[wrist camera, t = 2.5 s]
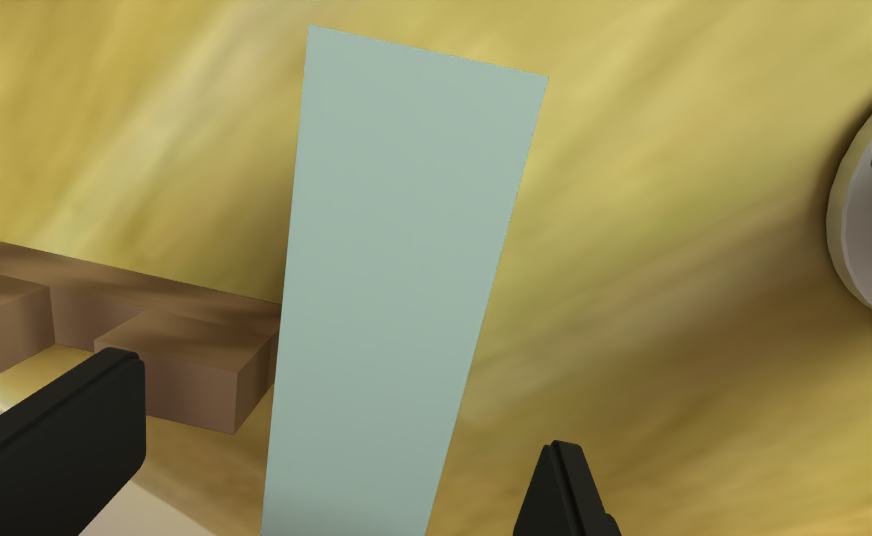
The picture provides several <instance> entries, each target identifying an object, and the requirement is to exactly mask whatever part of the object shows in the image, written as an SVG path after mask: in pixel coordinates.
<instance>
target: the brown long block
mask: <svg viewBox="0 0 872 536" xmlns="http://www.w3.org/2000/svg"><path fill="white" fill-rule="evenodd" d="M281 312H282V305H279V304H275V303H270V302H266V301H261V300H257V299H252V298H248V297H244V296H239V295H235V294H230V293H226V292H221V291H217V290H212V289H208V288H204V287H199V286H195V285H190V284H186V283H181V282H177V281H173V280H168V279H164V278H159V277H155V276H150V275H146V274H142V273H137V272H133V271H128V270H124V269H119V268H115V267H110V266H106V265H102V264H97V263H93V262H88V261H84V260H79V259H75V258H71V257H66V256H62V255H57V254H53V253H48V252H44V251H40V250H35V249H31V248H26V247H22V246H17V245H13V244H8V243H4V242H0V373H1V372H3V371H5V370H7V369H9V368H11V367H13V366H14V365H16V364H18V363H20V362H22V361H24V360H26V359H27V358H29V357H31V356H33V355H35V354H37V353H38V352H40V351H42V350H44V349H46V348H48V347H50V346H51V345H53V344H55V343H56V344H61V345H65V346H69V347H74V348H78V349H82V350H87V351H91V352H95V354H96V353H98V352H99V351H101V350H102V349H105V348H107V347H113V348H118V349H123V350H128V351H133V352H136V353H137V354H138V355H139V359H140V360H142V361H143V362H144V364H145V404H146V415H148V416H153V417H157V418H162V419H166V420H170V421H175V422H179V423H183V424H188V425H192V426H196V427H201V428H205V429H210V430H214V431H218V432H223V433H227V434H231V435H234V434H235V433H236V432H237V430H238V429H239V428H240V426H241V425H242V424H243V422H244V421H245V420H246V418H247V417H248V416H249V414H250V413H251V412H252V410H253V409H254V408H255V406H256V405H257V404H258V402H259V401H260V400H261V398H262V397H263V396H264V395H265V393H266V392H267V391H268V389H269V388H270V387H271V385H272V384H273V383H274V381H275V376H276V365H277V355H278V344H279V333H280V323H281Z"/></svg>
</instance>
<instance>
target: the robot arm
mask: <svg viewBox="0 0 872 536" xmlns="http://www.w3.org/2000/svg"><path fill="white" fill-rule="evenodd" d="M826 229H827V245H828V249H829V252H830V255H831V258H832V262H833V265H834V268H835V270H836V272H837V273H838V275H839V276H840V278H841V280H842V281H843V283H844V284H845V286H846V288H847V289H848V290H849V291H850V292H851V293H852V294H853V295H854V296H855V297H856V298H857V299H858V300H859V301H861V302H862V303H863V304H864V305H865V306H867V307H869V308H870V309H872V115H871V116H870V117H869V119H868V120H867V121H866V123H865V124H864V125H863V126H862V128H861V129H860V130H859V131H858V133H857V134H856V136H855V138H854V140H853V142H852V143H851V145H850V147H849V149H848V150H847V152H846V154H845V156H844V158H843V159H842V161H841V163H840V166H839V169H838V171H837V174H836V177H835V180H834V183H833V185H832V188H831V191H830V197H829V203H828V209H827V216H826ZM145 456H146V404H145V364H144V362H143V361H142V360H140V359H139V355H138V354H137V353H136V352H133V351H128V350H123V349H118V348H113V347H107V348H105V349H102V350H101V351H99V352H98V353H96V354H95V355H93V356H91V357H90V358H88V359H87V360H85V361H84V362H82V363H81V364H79V365H77V366H76V367H74V368H73V369H71V370H70V371H68V372H66V373H65V374H63V375H62V376H60V377H59V378H57V379H56V380H54V381H52V382H51V383H49V384H48V385H46V386H45V387H43V388H41V389H40V390H38V391H37V392H35V393H34V394H32V395H31V396H29V397H27V398H26V399H24V400H23V401H21V402H20V403H18V404H16V405H15V406H13V407H12V408H10V409H9V410H7V411H6V412H4V413H3V414H1V415H0V536H78V535H79V534H80V533H81V532H82V531H83V530H84V529H85V528H86V526H87V525H88V524H89V523H90V522H91V521H92V520H93V519H94V518H95V517H96V516H97V514H98V513H99V512H100V511H101V510H102V509H103V508H104V507H105V506H106V505H107V504H108V503H109V501H110V500H111V499H112V498H113V497H114V496H115V495H116V494H117V493H118V492H119V491H120V490H121V488H122V487H123V486H124V485H125V484H126V483H127V482H128V481H129V480H130V479H131V478H132V477H133V475H134V474H135V473H136V472H137V471H138V470H139V469H140V467H141V466H142V464H143V462H144V459H145ZM513 536H621V533H620V530H619V528H618V525H617V523H616V521H615V519H614V518H613V517H612V516H611V515H610V514H607V513H605V510H604V507H603V505H602V502H601V499H600V497H599V494H598V491H597V488H596V486H595V483H594V480H593V478H592V475H591V472H590V469H589V467H588V464H587V461H586V459H585V456H584V453H583V450H582V448H581V446H579V445H577V444H573V443H568V442H563V441H558V440H554V441H553V442H552V444H551V446H550V445H544V447H543V449H542V451H541V454H540V457H539V460H538V463H537V465H536V468H535V471H534V474H533V477H532V479H531V482H530V485H529V488H528V491H527V493H526V496H525V499H524V502H523V505H522V507H521V510H520V513H519V516H518V519H517V521H516V524H515V527H514V530H513Z"/></svg>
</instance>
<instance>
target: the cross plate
mask: <svg viewBox="0 0 872 536" xmlns="http://www.w3.org/2000/svg"><path fill="white" fill-rule="evenodd" d="M548 78H549V77H548V76H543V75H539V74H534V73H530V72H525V71H520V70H516V69H511V68H507V67H502V66H498V65H493V64H488V63H484V62H479V61H475V60H470V59H466V58H461V57H456V56H452V55H447V54H443V53H438V52H434V51H429V50H424V49H420V48H415V47H411V46H406V45H401V44H397V43H392V42H388V41H383V40H379V39H374V38H369V37H365V36H360V35H356V34H351V33H347V32H342V31H337V30H333V29H328V28H324V27H319V26H315V25H310V24H309V28H308V39H307V49H306V60H305V70H304V81H303V91H302V102H301V112H300V123H299V133H298V144H297V154H296V165H295V175H294V186H293V197H292V207H291V218H290V228H289V239H288V249H287V260H286V270H285V281H284V291H283V302H282V312H281V323H280V333H279V344H278V355H277V365H276V376H275V386H274V397H273V407H272V418H271V428H270V439H269V449H268V460H267V470H266V481H265V491H264V502H263V513H262V523H261V534H260V536H425V533H426V529H427V525H428V522H429V518H430V514H431V510H432V507H433V503H434V499H435V496H436V492H437V488H438V485H439V481H440V477H441V474H442V470H443V466H444V462H445V459H446V455H447V451H448V448H449V444H450V440H451V437H452V433H453V429H454V425H455V422H456V418H457V414H458V411H459V407H460V403H461V400H462V396H463V392H464V389H465V385H466V381H467V377H468V374H469V370H470V366H471V363H472V359H473V355H474V352H475V348H476V344H477V341H478V337H479V333H480V329H481V326H482V322H483V318H484V315H485V311H486V307H487V304H488V300H489V296H490V293H491V289H492V285H493V281H494V278H495V274H496V270H497V267H498V263H499V259H500V256H501V252H502V248H503V245H504V241H505V237H506V233H507V230H508V226H509V222H510V219H511V215H512V211H513V208H514V204H515V200H516V196H517V193H518V189H519V185H520V182H521V178H522V174H523V171H524V167H525V163H526V160H527V156H528V152H529V148H530V145H531V141H532V137H533V134H534V130H535V126H536V123H537V119H538V115H539V112H540V108H541V104H542V100H543V97H544V93H545V89H546V86H547V82H548Z"/></svg>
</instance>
